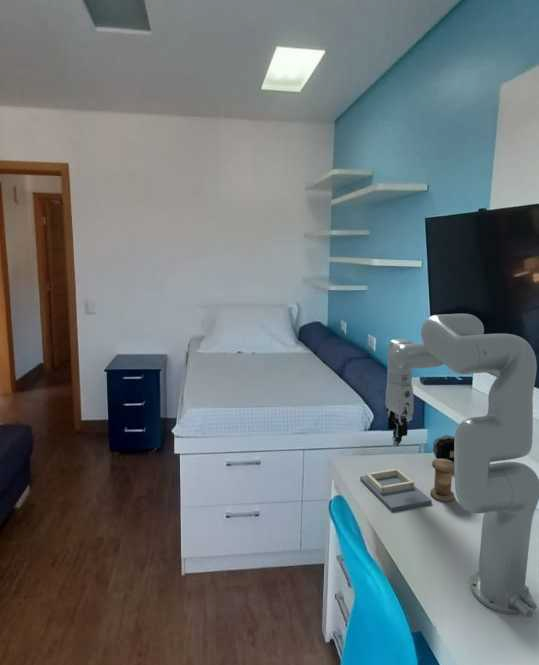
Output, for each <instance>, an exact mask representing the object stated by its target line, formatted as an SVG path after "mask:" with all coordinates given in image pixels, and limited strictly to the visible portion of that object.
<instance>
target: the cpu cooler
mask: <svg viewBox="0 0 539 665" xmlns="http://www.w3.org/2000/svg"><path fill="white" fill-rule="evenodd" d="M454 440H455V436H451V435H447V434H445V435H443V436H441V437H439V438H438V437H437V438H436V439H435V440H434V441H433V443H432V445H433V447H432V448H433V449H432V451H433V455H434V456H435V457H434V458H435V459H447V460H450V461H453V462H454Z"/></svg>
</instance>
